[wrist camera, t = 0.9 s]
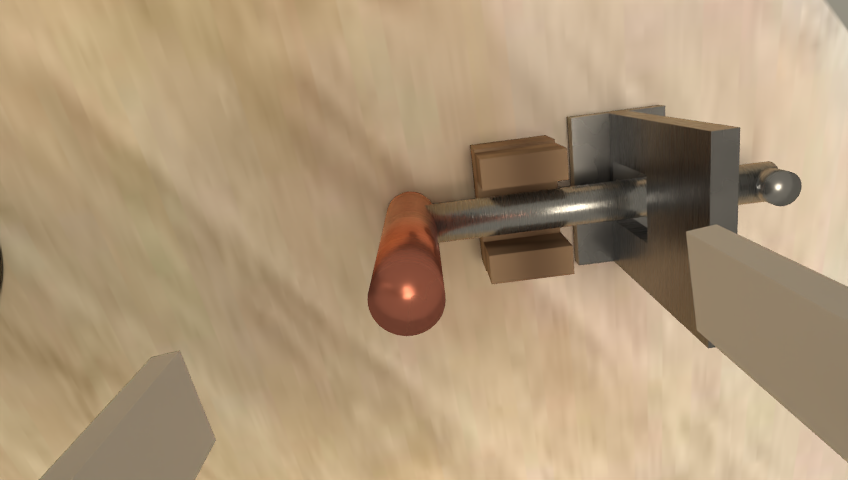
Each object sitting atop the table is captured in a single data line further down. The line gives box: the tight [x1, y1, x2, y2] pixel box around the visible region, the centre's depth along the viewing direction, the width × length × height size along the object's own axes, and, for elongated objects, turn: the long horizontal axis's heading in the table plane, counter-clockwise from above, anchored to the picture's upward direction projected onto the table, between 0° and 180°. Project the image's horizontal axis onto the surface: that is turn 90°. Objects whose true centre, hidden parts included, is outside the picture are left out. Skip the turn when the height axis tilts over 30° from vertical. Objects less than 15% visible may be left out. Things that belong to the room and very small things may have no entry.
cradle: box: [470, 135, 574, 284], centre depth 36 cm, size 5×8×6 cm, turn 7°
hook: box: [368, 161, 801, 336], centre depth 30 cm, size 24×3×15 cm, turn 97°
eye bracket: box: [567, 105, 740, 348], centre depth 31 cm, size 6×10×14 cm, turn 7°
